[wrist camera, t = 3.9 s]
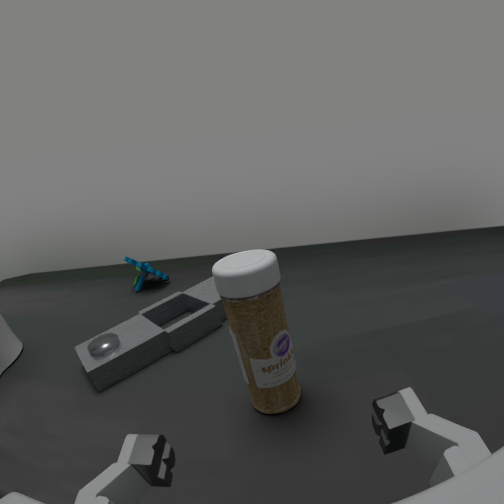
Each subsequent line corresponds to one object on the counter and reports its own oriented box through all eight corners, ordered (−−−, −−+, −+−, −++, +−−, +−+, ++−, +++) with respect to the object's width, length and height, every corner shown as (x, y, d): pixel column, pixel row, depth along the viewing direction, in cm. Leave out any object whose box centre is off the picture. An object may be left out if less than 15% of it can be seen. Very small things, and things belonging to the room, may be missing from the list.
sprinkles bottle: (289, 420, 22) (256, 272, 18) (242, 409, 24) (197, 272, 20) (308, 384, 26) (285, 245, 22) (265, 377, 28) (232, 248, 24)
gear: (176, 275, 57) (130, 253, 52) (164, 304, 56) (117, 283, 51) (162, 271, 67) (123, 252, 62) (152, 295, 65) (112, 277, 61)
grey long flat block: (101, 395, 28) (86, 371, 27) (82, 362, 35) (71, 341, 34) (277, 289, 46) (272, 268, 45) (235, 280, 53) (231, 261, 52)
